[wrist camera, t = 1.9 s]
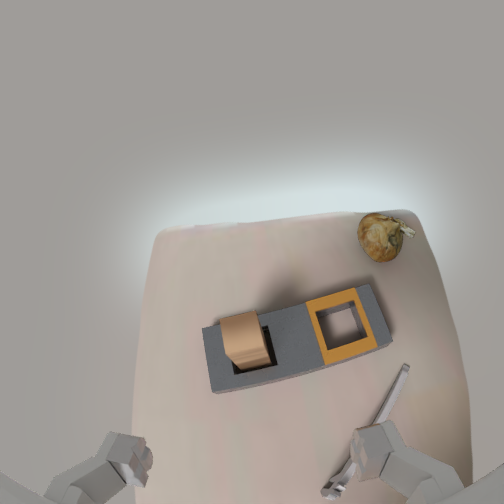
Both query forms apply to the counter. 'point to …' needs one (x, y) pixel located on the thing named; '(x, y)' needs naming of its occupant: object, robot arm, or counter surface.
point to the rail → (300, 340)
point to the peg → (245, 341)
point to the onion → (382, 236)
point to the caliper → (381, 417)
